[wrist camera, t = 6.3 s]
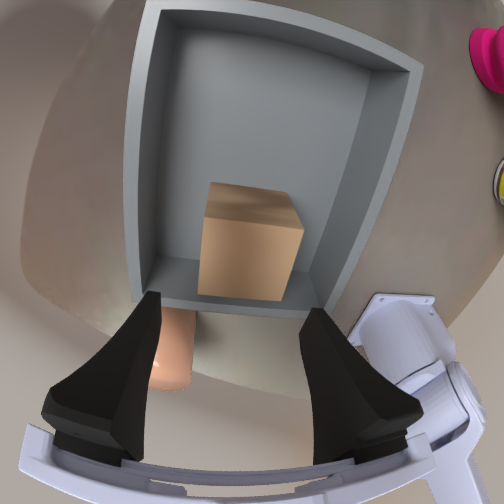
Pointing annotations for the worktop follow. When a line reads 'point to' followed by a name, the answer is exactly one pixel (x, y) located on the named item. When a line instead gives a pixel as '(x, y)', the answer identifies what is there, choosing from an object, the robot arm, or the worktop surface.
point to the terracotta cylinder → (174, 350)
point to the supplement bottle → (499, 183)
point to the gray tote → (258, 141)
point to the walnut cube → (248, 242)
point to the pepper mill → (488, 57)
